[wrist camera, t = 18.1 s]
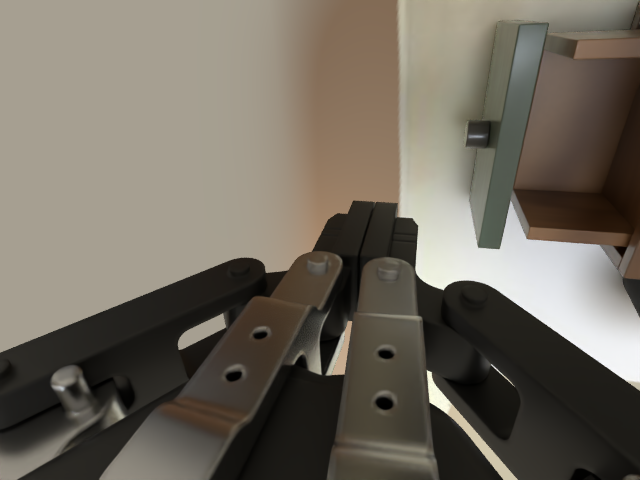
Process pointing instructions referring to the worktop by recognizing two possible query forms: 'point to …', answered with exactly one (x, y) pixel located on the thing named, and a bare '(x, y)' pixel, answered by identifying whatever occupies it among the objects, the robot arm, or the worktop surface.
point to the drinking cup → (633, 291)
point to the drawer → (559, 136)
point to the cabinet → (636, 257)
